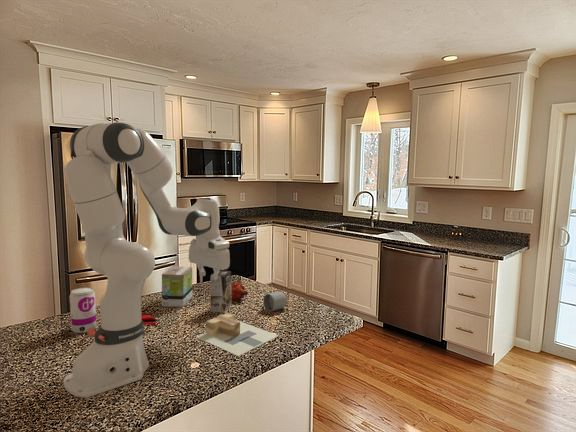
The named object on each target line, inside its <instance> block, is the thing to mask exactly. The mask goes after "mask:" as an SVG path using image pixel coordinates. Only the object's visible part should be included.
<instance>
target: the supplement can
mask: <svg viewBox="0 0 576 432" xmlns="http://www.w3.org/2000/svg"><path fill="white" fill-rule="evenodd" d="M68 298H69V310H70V311H69V312H70V328H71V329H70V330H71V331H72V332H73V333H74V334H84V333H87V331H89V329H90V328H93V329H94V330H95V328H96V327H97V312H96V309H97V308H96V307H97V306H96V292H95V291H94V289H93V288H92V287H79V288H75V289H72V290H71V291H70V294H69V297H68Z"/></svg>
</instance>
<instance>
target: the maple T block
mask: <svg viewBox="0 0 576 432" xmlns="http://www.w3.org/2000/svg"><path fill="white" fill-rule="evenodd" d="M238 321H239V320H238ZM238 321H236V314H234V313H231V312H228V313H225V314H222V315H220V316H219V315H218V316H217V317H214V318H212V319H211V318H210V319H208V320H206V321H205V322H206V325H205V327H206V332H207V334H210V335H212V336H213V335H216V334H218V333H223V334H226V335H228V336H231V337H235V336H237V335H239V334H240V322H241V321H240V322H238ZM206 332H205V333H206Z"/></svg>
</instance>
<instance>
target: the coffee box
mask: <svg viewBox="0 0 576 432" xmlns="http://www.w3.org/2000/svg"><path fill="white" fill-rule="evenodd" d="M209 281H210V313H226V312H227V311H228V310H229V308H231V307H232V298H231V283H232V271H230V270H220V271H219V273H218V279H216V280H214V279H212V274H211V275H210V280H209Z"/></svg>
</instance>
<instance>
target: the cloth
mask: <svg viewBox="0 0 576 432" xmlns="http://www.w3.org/2000/svg"><path fill="white" fill-rule="evenodd" d="M141 318H142V320H143V326H144V325H145V326H146V325H147V326H157V323H156V322H157V319H156V318H154V317H153V316H151V315H149V314H145V313H142V312H141ZM154 321H156V322H154Z"/></svg>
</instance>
